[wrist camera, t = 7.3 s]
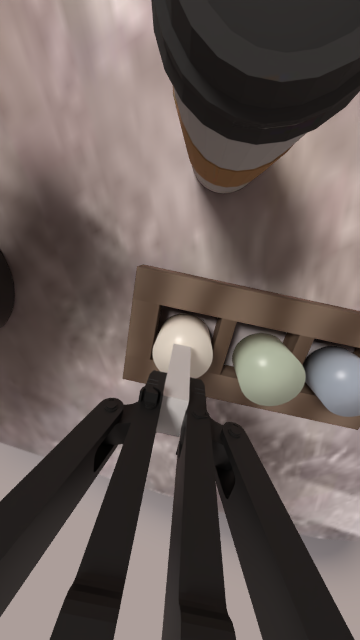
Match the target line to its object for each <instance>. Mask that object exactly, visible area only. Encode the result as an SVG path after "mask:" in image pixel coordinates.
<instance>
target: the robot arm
mask: <svg viewBox="0 0 360 640" xmlns="http://www.w3.org/2000/svg"><path fill="white" fill-rule="evenodd" d="M13 304H14V286H13V280H12V276H11V273H10V270H9V268H8V265H7V263H6V261H5V259H4V257H3V255H2V253H1V252H0V328H1V327H2V326H3V325H4V324H5V323H6V321H7V320H8V318H9V316H10V314H11V312H12V308H13ZM190 359H191V347H188V346H184V345H179V344H173V349H172V354H171V358H170V363H169V368H168V372H167V373H165V372H160V371H156V370H154V371H152V372H151V373H150V374H149V377H148V380H147V383H146V386H144V387H143V388H142V389H141V390H140V395H139V401H138V402H136V403H134V404H129V405H123V403H122V401H120V400H119V399H116V398H108V399H105V400H103V401H102V402H100V403H99V404H98V405H97V406H96V407H95V408H94V409H93V410H92V411H91V412H90V413H89V414H88V415H87V416H86V417H85V418H84V419H83V420H82V421H81V422H80V423H79V424H78V425H77V426H76V427H75V428H74V429H73V430H72V431H71V432H70V433H69V434H68V435H67V436H66V437H65V438H64V439H63V440H62V441H61V442H60V443H59V444H58V445H57V446H56V447H55V448H54V449H53V450H52V451H51V452H50V453H49V454H48V455H47V456H46V457H45V458H44V459H43V460H42V461H41V462H40V463H39V464H38V465H37V466H36V467H35V468H34V469H33V470H32V471H31V472H30V473H29V474H28V475H27V476H26V477H25V478H24V479H23V480H21V481H20V482H19V484H17V485H16V487H14V489H12V490H11V491H10V492H9V493H8V494H7V495H6V496H5V497H4V498H3V499H2V500H1V501H0V617H1V615H2V614H3V612H4V611H5V609H6V608H7V606H8V605H9V604H10V602H11V601H12V599H13V598H14V596H15V595H16V593H17V592H18V590H19V589H20V587H21V586H22V584H23V583H24V582H25V580H26V579H27V577H28V576H29V574H30V573H31V571H32V570H33V568H34V567H35V566H36V564H37V563H38V561H39V560H40V558H41V557H42V555H43V554H44V552H45V551H46V550H47V548H48V547H49V545H50V544H51V542H52V541H53V539H54V538H55V536H56V535H57V533H58V532H59V531H60V529H61V527H62V526H63V525H64V523H65V522H66V520H67V519H68V517H69V516H70V515H71V513H72V512H73V510H74V509H75V507H76V506H77V504H78V503H79V501H80V500H81V499H82V497H83V496H84V494H85V493H86V491H87V490H88V488H89V487H90V485H91V484H92V482H93V481H94V479H95V478H96V477H97V475H98V474H99V472H100V471H101V469H102V468H103V466H104V465H105V464H106V462H107V461H108V459H109V458H110V456H111V455H112V453H113V452H114V450H115V449H116V447H117V446H118V444H123V446H122V449H121V452H120V455H119V458H118V460H117V463H116V466H115V469H114V472H113V474H112V477H111V480H110V483H109V486H108V489H107V491H106V494H105V497H104V500H103V503H102V505H101V508H100V511H99V514H98V517H97V519H96V522H95V525H94V528H93V531H92V533H91V536H90V539H89V542H88V545H87V547H86V550H85V553H84V556H83V559H82V562H81V564H80V567H79V570H78V572H77V575H76V578H75V580H74V582H73V584H72V586H71V587H70V589H69V591H68V593H67V596H66V598H65V600H64V603H63V605H62V608H61V610H60V613H59V616H58V618H57V621H56V624H55V626H54V630H53V632H52V635H51V637H50V640H113V639H114V634H115V628H116V624H117V619H118V614H119V609H120V604H121V599H122V594H123V589H124V584H125V579H126V574H127V570H128V565H129V560H130V555H131V550H132V545H133V540H134V536H135V531H136V526H137V521H138V516H139V511H140V506H141V501H142V496H143V491H144V487H145V482H146V477H147V472H148V467H149V463H150V458H151V453H152V448H153V443H154V438H155V433H156V432H158V433H163V434H167V435H172V436H177V437H179V436H180V441H179V444H178V448H177V452H176V455H177V466H176V478H175V489H174V501H173V513H172V525H171V537H170V549H169V560H168V573H167V584H166V595H165V608H164V620H163V631H162V640H236V636H235V631H234V627H233V623H232V621H231V619H230V617H229V615H228V612H227V609H226V599H225V588H224V576H223V564H222V553H221V541H220V530H219V518H218V506H217V495H216V484H217V488H218V491H219V494H220V498H221V501H222V504H223V508H224V511H225V514H226V518H227V521H228V524H229V528H230V531H231V535H232V538H233V541H234V545H235V548H236V551H237V554H238V558H239V561H240V565H241V568H242V571H243V575H244V578H245V581H246V585H247V588H248V592H249V595H250V598H251V601H252V604H253V608H254V612H255V615H256V618H257V622H258V625H259V628H260V632H261V635H262V639H263V640H354V638H353V636H352V634H351V632H350V630H349V628H348V627H347V625H346V623H345V621H344V619H343V617H342V615H341V613H340V611H339V610H338V607H337V606H336V604H335V602H334V600H333V598H332V596H331V594H330V592H329V591H328V588H327V587H326V585H325V583H324V581H323V579H322V577H321V575H320V573H319V571H318V569H317V567H316V566H315V564H314V562H313V560H312V558H311V556H310V554H309V552H308V550H307V548H306V547H305V545H304V543H303V541H302V539H301V537H300V535H299V533H298V531H297V529H296V527H295V525H294V524H293V522H292V520H291V518H290V516H289V514H288V512H287V510H286V508H285V506H284V505H283V503H282V501H281V499H280V497H279V495H278V493H277V491H276V489H275V487H274V485H273V484H272V482H271V480H270V478H269V476H268V474H267V472H266V470H265V468H264V466H263V464H262V463H261V461H260V459H259V457H258V455H257V453H256V451H255V449H254V447H253V445H252V444H251V442H250V440H249V438H248V436H247V434H246V432H245V431H244V429H243V428H242V427H241V426H239V425H238V424H236V423H233V422H226V423H225V424H224V425H221V424H219V423H217V422H215V421H213V420H212V419H211V418H210V416H209V413H208V412H207V410H206V396H205V385H204V383H203V381H202V380H200V379H196V378H191V377H190ZM180 432H181V433H180ZM215 481H216V483H215Z"/></svg>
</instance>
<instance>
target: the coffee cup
mask: <svg viewBox="0 0 360 640" xmlns="http://www.w3.org/2000/svg"><path fill="white" fill-rule="evenodd" d="M152 13H153V26H154V33H155V36H156V40H157V44H158V47H159V51H160V55H161V58H162V62H163V65H164V69H165V71H166V73H167V75H168V77H169V79H170V81H171V83H172V85H173V96H174V100H175V104H176V108H177V112H178V116H179V120H180V124H181V128H182V132H183V136H184V140H185V144H186V148H187V152H188V155H189V159H190V162H191V164H192V168H193V171H194V173H195V175H196V177H197V179H198V180H199V181H200V182H201V183H202V184H203V185H204V186H205V187H206V188H208V189H209V190H211V191H213V192H217V193H232V192H234V191H237V190H239V189H241V188H243V187H244V186H245V185H247V184H248V183H249V182H251V181H252V180H253V179H255V178H256V177H257V176H259V175H260V174H261V173H263V172H264V171H265V170H266V169H267V168H268V167H270V166H271V165H272V164H273V163H274V162H276V161H277V160H278V159H279V158H280V157H282V156H283V155H284V154H285V153H286V152H287V151H288V150H289V149H290V148H291V147H292V146H293V145H294V143H296V142H297V141H298V140H299V139H300V138H301V137H303V136H304V135H305V134H306V133H307V132H310V131H312V130H314V129H316V128H318V127H319V126H320V125H322V124H323V123H324V122H326V121H327V120H328V119H330V118H331V117H333V116H334V115H335V114H337V113H338V112H339V111H341V110H342V109H343V108H345V107H346V106H347V105H348V104H349V103H350V101H351V100H352V99H353V98H354V97H355V96H356V95H357V94H358V92H359V91H360V0H152Z"/></svg>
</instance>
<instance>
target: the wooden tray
mask: <svg viewBox="0 0 360 640" xmlns="http://www.w3.org/2000/svg"><path fill="white" fill-rule="evenodd" d="M162 305H163V306H168V307H173V308H177V309H182V310H186V311H191V312H196V313H200V314H205V315H210V316H214V317H218V319H217V323H216V326H215V330H214V334H213V337H212V341H211V345H212V351H213V359H212V363H211V365H210V367H209V369H208V370H207V371H206V372H205V373H204V374H203V375H202V376H200V377H198V378H196V379H200V380H202V381H203V383H204V385H205V396H206V397H209V398H214V399H218V400H223V401H227V402H232V403H237V404H241V405H246V406H250V407H255V408H260V409H264V410H269V411H273V412H278V413H283V414H287V415H292V416H296V417H301V418H306V419H310V420H315V421H319V422H324V423H329V424H333V425H338V426H342V427H347V428H352V429H356V430H358V429H359V427H360V415H359V416H354V417H344V416H339V415H336V414H334V413H332V412H330V411H329V410H328V409H327V408H326V407H325V406H324V404H323V403H322V402H321V401H320V399H319V398H318V397H317V396H316V395H315V393H314V392H313V391H312V390H311V388H310V387H309V386H308V385H307V383H306V382H305V383H304V386H303V388H302V390H301V391H300V393H299V394H298V395H297V396H296V397H295V398H293V399H292V400H290V401H288V402H286V403H284V404H281V405H277V406H263V405H259V404H256V403H254V402H252V401H250V400H249V399H248V398H247V397H246V396H245V395H244V394H243V392H242V390H241V388H240V385H239V382H238V378H237V375H236V372H235V369H234V367H232V366H228V365H223V364H224V361H225V358H226V355H227V351H228V348H229V345H230V342H231V339H232V336H233V332H234V329H235V326H236V323H237V322H242V323H247V324H251V325H256V326H260V327H265V328H270V329H274V330H279V331H284V332H287V334H286V336H285V339H284V341H283V344H284V345H285V346H286V347H287V348H288V349H289V351H290V352H291V353H292V354H293V355H294V356H295V357H296V358H297V359H298V361H299V362H300V363H301V364H303V362H304V360H305V358H306V356H307V354H308V351H309V349H310V347H311V345H312V343H313V341H314V339H315V338H316V339H321V340H325V341H330V342H334V343H339V344H344V345H348V346H353V347H356V349H355V351H354V352H353V354H355V355H356V356H358V357H359V358H360V311H356V310H352V309H347V308H342V307H338V306H333V305H329V304H324V303H319V302H315V301H310V300H305V299H301V298H296V297H291V296H287V295H282V294H278V293H273V292H268V291H264V290H259V289H254V288H250V287H245V286H240V285H236V284H231V283H227V282H222V281H217V280H213V279H208V278H203V277H199V276H194V275H189V274H185V273H180V272H176V271H171V270H166V269H162V268H157V267H152V266H148V265H140V266H137V271H136V279H135V286H134V294H133V302H132V310H131V317H130V325H129V333H128V341H127V349H126V356H125V364H124V372H123V379H126V380H131V381H135V382H140V383H145V384H146V383H147V380H148V377H149V374H150V373H151V372H152V371H154V370H156V371H159V369H158V368H157V367H156V365H155V363H154V360H153V346H154V344H155V341H156V336H157V331H158V325H159V319H160V314H161V308H162Z"/></svg>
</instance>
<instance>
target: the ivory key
mask: <svg viewBox="0 0 360 640" xmlns="http://www.w3.org/2000/svg"><path fill="white" fill-rule="evenodd" d="M173 344H179V345H184V346H188V347H191V359H190V377H191V378H198V377H200V376H202V375H203V374H204V373H205V372H206V371H207V370H208V369H209V367H210V365H211V363H212V359H213V351H212V345H211V338H210V333H209V329H208V327H207V325H206V324H205V323H204V322H203V321H202V320H201V319H200V318H198V317H197V316H194V315H192V314H184V313H183V314H177V315H174V316H172V317H170V318H169V319H168V320H166V321H165V323H164V324H163V326H162V328H161V330H160V332H159V334H158V337H157V339H156V341H155V344H154V346H153V360H154V363H155V365H156V367H157V368H158V369H159V371H160V372H165V373H167V372H168V368H169V363H170V358H171V354H172V349H173Z"/></svg>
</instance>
